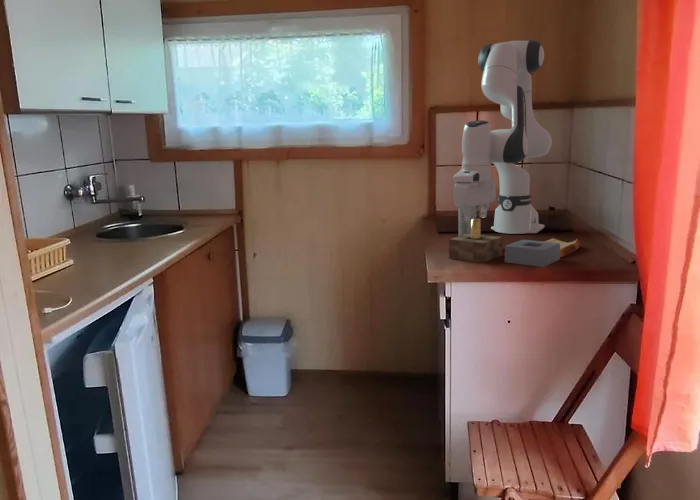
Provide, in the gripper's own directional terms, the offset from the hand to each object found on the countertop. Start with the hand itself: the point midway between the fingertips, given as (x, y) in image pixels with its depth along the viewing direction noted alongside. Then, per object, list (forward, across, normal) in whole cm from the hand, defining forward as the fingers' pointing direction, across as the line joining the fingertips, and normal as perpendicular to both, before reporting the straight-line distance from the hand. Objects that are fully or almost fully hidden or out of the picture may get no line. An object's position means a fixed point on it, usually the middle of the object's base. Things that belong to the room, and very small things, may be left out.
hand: (475, 219), depth 180 cm
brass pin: (+12, 0, 0) cm, 12 cm away
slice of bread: (+12, -22, +18) cm, 31 cm away
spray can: (+12, -14, -10) cm, 21 cm away
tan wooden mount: (+12, 0, 0) cm, 12 cm away
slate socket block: (+12, -4, +17) cm, 21 cm away
